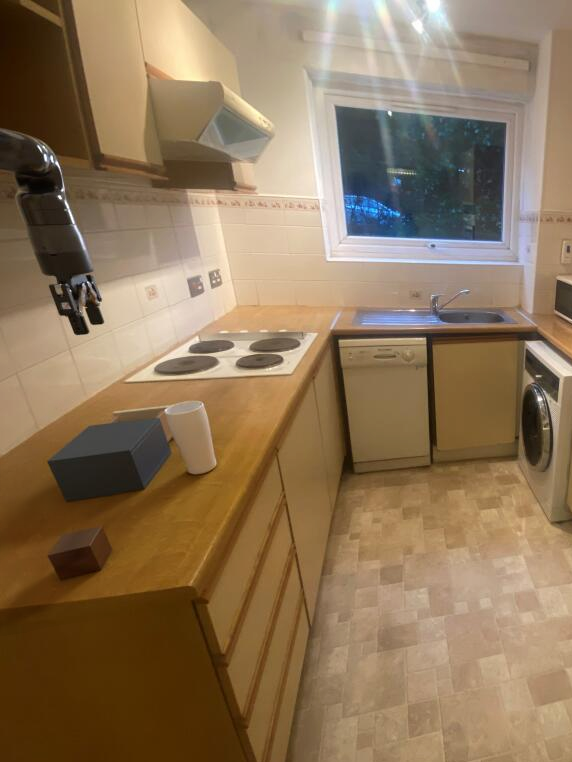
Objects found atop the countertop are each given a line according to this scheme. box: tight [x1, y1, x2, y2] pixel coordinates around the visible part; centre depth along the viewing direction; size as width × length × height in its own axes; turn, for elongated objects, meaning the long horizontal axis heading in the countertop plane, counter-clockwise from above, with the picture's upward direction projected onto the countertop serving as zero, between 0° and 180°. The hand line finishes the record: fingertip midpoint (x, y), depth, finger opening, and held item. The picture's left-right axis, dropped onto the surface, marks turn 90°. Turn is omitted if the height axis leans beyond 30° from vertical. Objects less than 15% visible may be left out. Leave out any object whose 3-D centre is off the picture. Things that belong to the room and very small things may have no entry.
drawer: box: [105, 404, 173, 443], centre depth 101 cm, size 18×12×7 cm, turn 19°
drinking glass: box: [164, 400, 218, 475], centre depth 92 cm, size 7×7×15 cm
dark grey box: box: [46, 418, 172, 503], centre depth 91 cm, size 15×13×9 cm
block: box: [47, 525, 113, 581], centre depth 69 cm, size 5×5×5 cm
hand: (90, 329), depth 91 cm, fingers open, 8 cm apart
